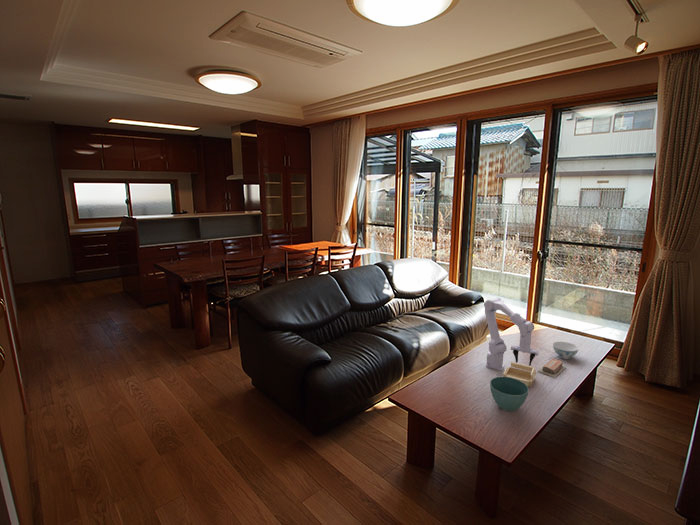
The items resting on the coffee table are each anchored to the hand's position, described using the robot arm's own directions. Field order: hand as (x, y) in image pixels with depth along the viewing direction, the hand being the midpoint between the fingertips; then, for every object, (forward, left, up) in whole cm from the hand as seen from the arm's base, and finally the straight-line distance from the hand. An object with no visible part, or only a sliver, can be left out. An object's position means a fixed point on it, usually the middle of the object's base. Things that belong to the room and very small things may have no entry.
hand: (523, 363), depth 214 cm
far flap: (+6, 0, -7) cm, 9 cm away
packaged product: (+14, +23, -11) cm, 29 cm away
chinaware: (+19, +48, -11) cm, 53 cm away
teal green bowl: (-1, -34, -11) cm, 36 cm away
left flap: (-1, +7, -7) cm, 10 cm away
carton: (-1, 0, -10) cm, 11 cm away
